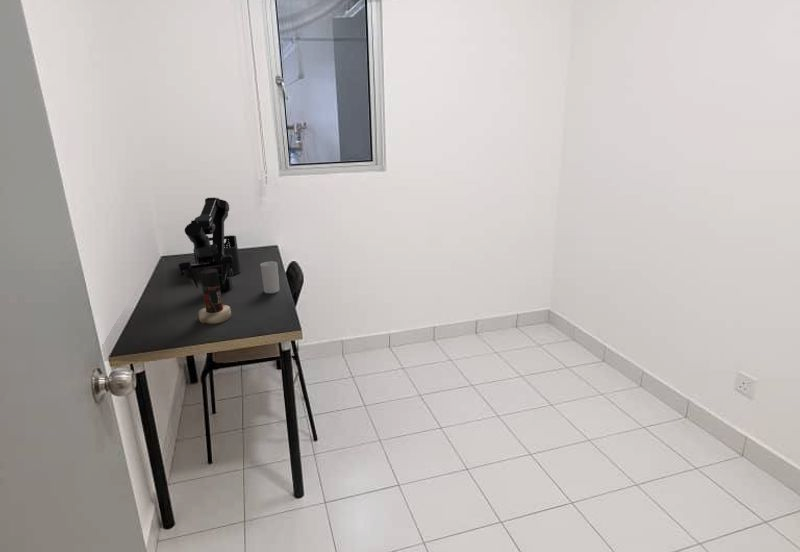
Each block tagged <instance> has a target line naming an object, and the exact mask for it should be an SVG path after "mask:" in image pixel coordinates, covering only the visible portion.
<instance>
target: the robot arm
mask: <svg viewBox="0 0 800 552" xmlns="http://www.w3.org/2000/svg"><path fill="white" fill-rule="evenodd" d="M204 200H205V201H204V204H203V205H204V206H203V207H202V211H201V213H200V215H199V216H197V217H195V218H194V220H191V221H190V223H188V224H187V225H186V226H185V228H184V233H185V235H186V236H187V238H188V239H189V240H190V242H191V243H192V244H193V249H194V248H195V253H196V258H197V263H198V264H196V263H194V264H191V261H182V262H179V263H178V264H177V265H178V271H179V276H180V277H184V278H187V279H188V280H189V281H190V282H191V283H192V284H193V286H194V288H196V289H198V288H199V287H198V282H197V279H196V277H195V273H194V271H195V270H196V269H202V268H207V269H212V268H213V269H217V270H218V276H219V283H220V290H221V293H227V292H229V291H231V289H233V288H234V286H233V282H232V278H231V277H233V275H234V274H233V273H232V268H233V257H232V256H225V255H224V248H225V247H224V246H225V245H224V243H225V239H224V236H225V221H226V219H227V218H228V216H229V211H230V204H229V202H228V201H226V200H224V199H220V198H219V197H207V198H205V199H204ZM208 235H212V237H213V241H212V244H213V245H212V244H211V241H209V238H210V236H208Z"/></svg>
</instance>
